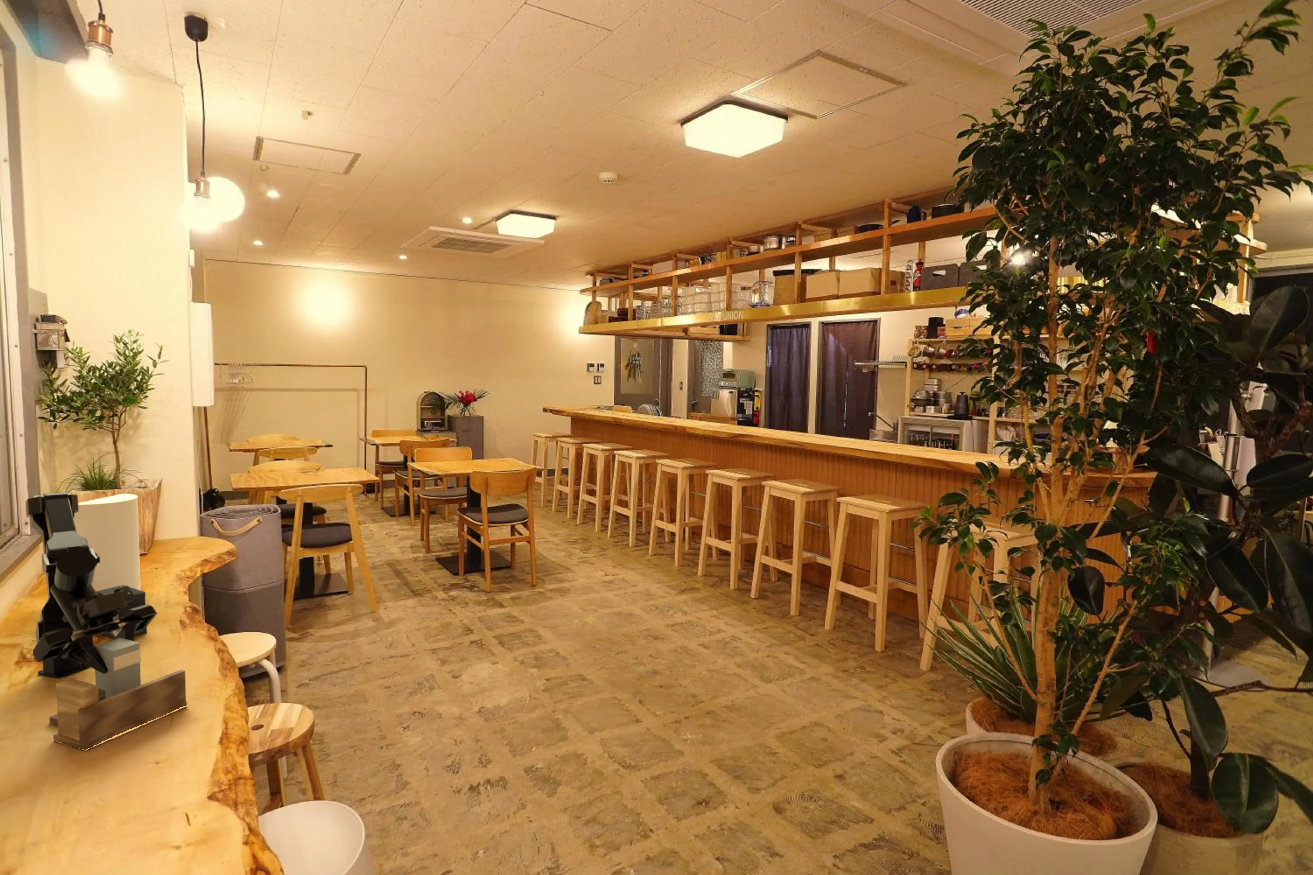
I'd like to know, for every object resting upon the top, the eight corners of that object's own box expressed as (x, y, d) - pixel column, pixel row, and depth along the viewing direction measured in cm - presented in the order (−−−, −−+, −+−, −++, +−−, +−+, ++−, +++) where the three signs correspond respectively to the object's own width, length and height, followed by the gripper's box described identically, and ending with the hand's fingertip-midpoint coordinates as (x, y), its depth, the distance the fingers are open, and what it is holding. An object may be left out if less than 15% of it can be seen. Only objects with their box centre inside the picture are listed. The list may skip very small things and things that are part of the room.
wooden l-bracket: (85, 751, 118) (82, 693, 117) (26, 731, 123) (24, 676, 123) (186, 707, 134) (185, 655, 133) (131, 691, 140) (129, 642, 139)
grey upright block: (115, 708, 128) (114, 651, 128) (96, 702, 130) (93, 645, 130) (141, 698, 133) (140, 642, 132) (122, 692, 135) (120, 637, 134)
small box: (94, 632, 170) (93, 590, 169) (125, 624, 176) (123, 583, 175) (117, 641, 165) (116, 598, 164) (148, 632, 171) (147, 591, 170)
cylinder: (155, 589, 204) (152, 494, 201) (108, 608, 186) (104, 505, 184) (97, 587, 204) (93, 492, 202) (44, 606, 187) (39, 503, 184)
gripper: (39, 589, 123) (82, 661, 120) (149, 564, 140) (189, 626, 137) (14, 626, 126) (55, 697, 123) (124, 597, 143) (162, 658, 140)
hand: (119, 667), depth 131 cm, fingers closed on grey upright block, 4 cm apart
